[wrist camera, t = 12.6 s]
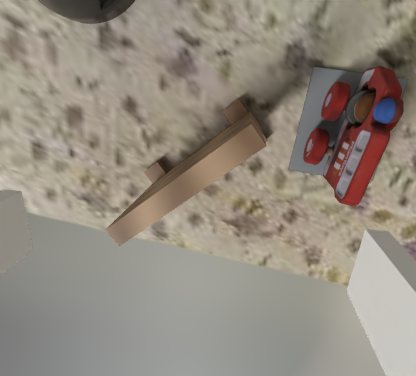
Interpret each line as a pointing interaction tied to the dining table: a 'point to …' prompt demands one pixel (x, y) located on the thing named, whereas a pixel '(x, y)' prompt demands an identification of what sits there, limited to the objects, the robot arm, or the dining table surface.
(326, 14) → the dining table surface
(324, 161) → the mat
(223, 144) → the screen
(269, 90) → the dining table surface
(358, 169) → the toy fire truck
